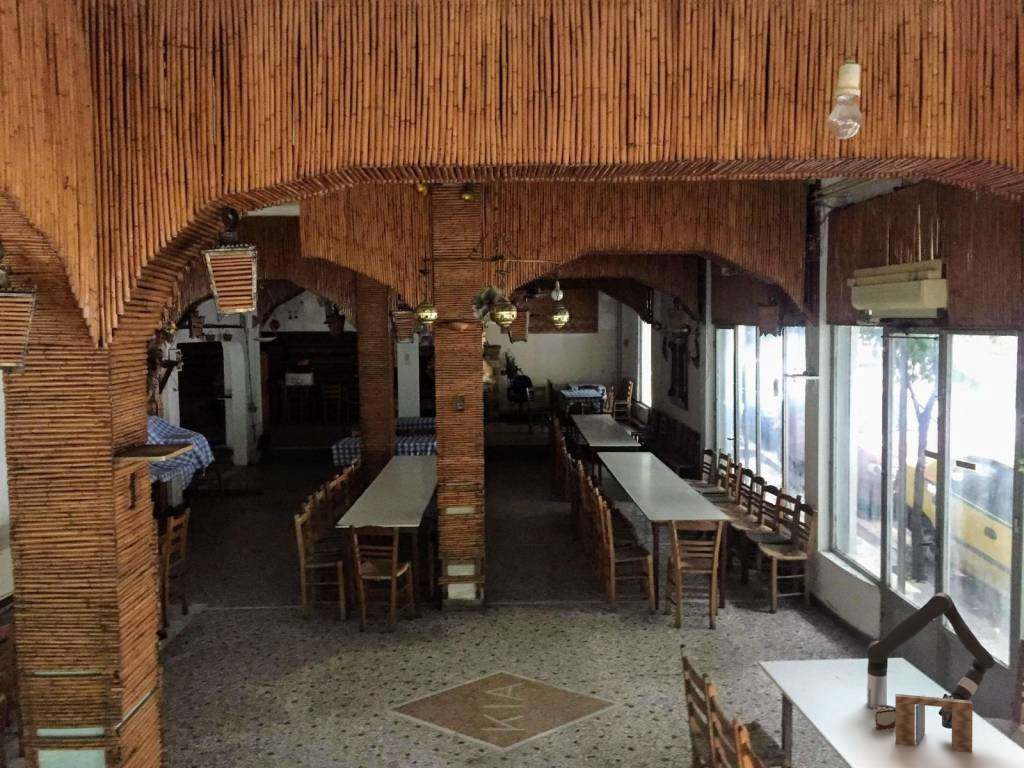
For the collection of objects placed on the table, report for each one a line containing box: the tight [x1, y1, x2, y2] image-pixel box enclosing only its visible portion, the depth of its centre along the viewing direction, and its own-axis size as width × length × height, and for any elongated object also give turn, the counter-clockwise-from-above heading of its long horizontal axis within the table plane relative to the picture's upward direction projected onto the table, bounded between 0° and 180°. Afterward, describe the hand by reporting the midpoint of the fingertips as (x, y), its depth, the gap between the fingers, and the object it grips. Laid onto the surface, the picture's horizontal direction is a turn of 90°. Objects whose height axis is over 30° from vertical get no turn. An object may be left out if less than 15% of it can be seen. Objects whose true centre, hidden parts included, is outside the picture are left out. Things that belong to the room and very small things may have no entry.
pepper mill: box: [941, 707, 952, 730], centre depth 401 cm, size 6×6×11 cm
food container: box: [872, 704, 895, 732], centre depth 415 cm, size 12×6×10 cm, turn 102°
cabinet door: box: [915, 694, 926, 745], centre depth 402 cm, size 14×3×18 cm, turn 143°
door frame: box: [894, 693, 974, 753], centre depth 394 cm, size 32×3×23 cm, turn 73°
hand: (945, 717), depth 401 cm, fingers closed on pepper mill, 5 cm apart
